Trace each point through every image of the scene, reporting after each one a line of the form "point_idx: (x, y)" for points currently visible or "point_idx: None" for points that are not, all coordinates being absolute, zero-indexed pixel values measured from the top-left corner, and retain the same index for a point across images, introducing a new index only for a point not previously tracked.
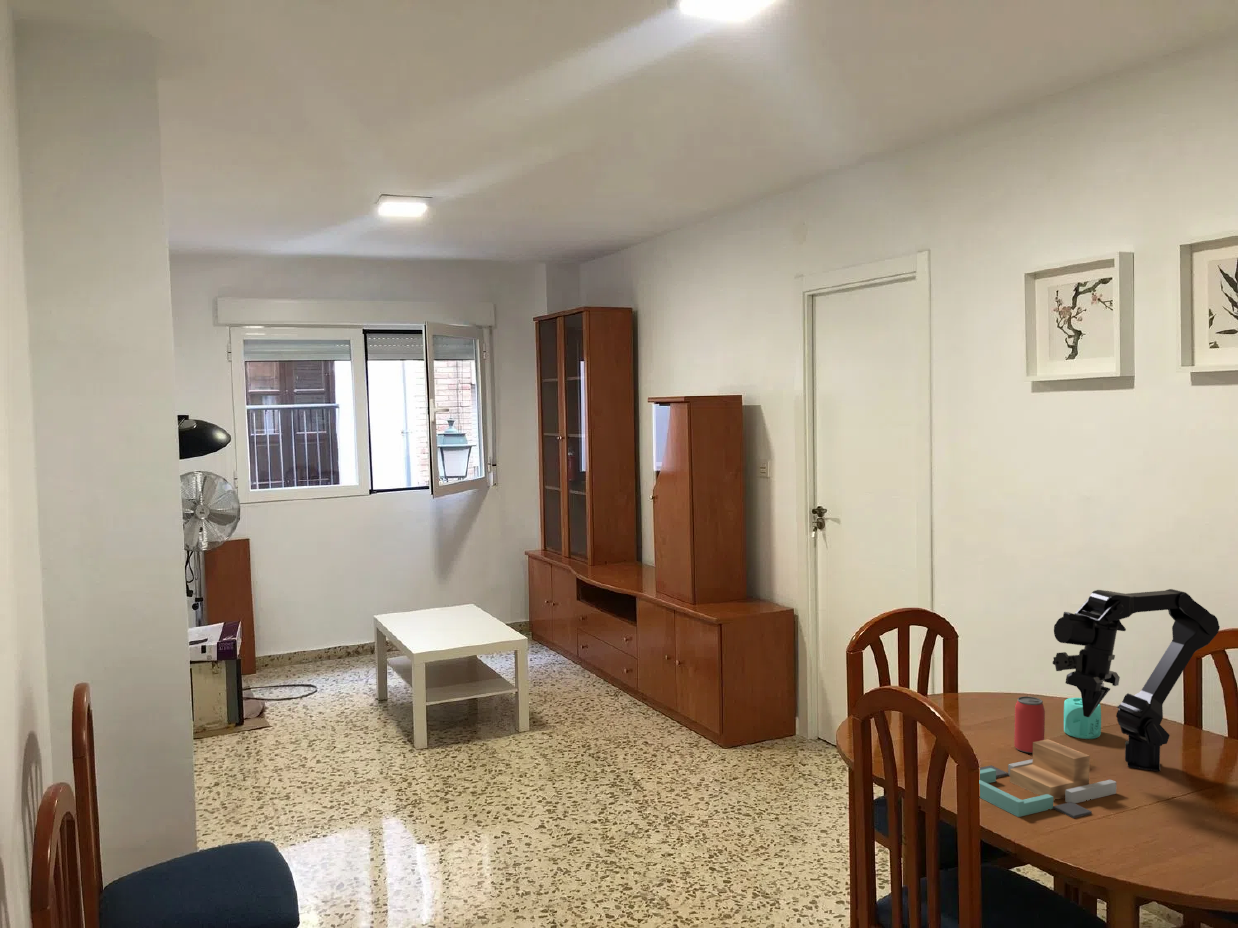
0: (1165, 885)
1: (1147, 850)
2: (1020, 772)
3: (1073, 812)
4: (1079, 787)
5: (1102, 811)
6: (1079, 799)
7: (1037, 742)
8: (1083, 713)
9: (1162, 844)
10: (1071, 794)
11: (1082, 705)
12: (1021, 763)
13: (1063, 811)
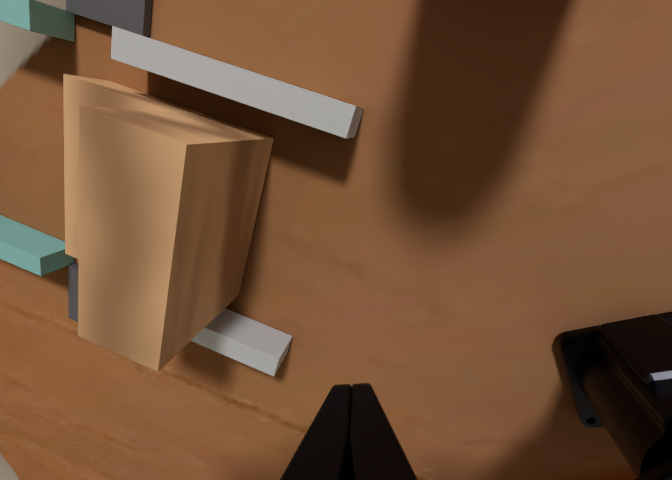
0: (18, 470)
1: (84, 443)
2: (73, 122)
3: None
4: None
5: None
6: None
7: (98, 127)
8: (327, 398)
9: (124, 459)
10: None
11: (282, 476)
12: (162, 63)
13: (70, 292)
